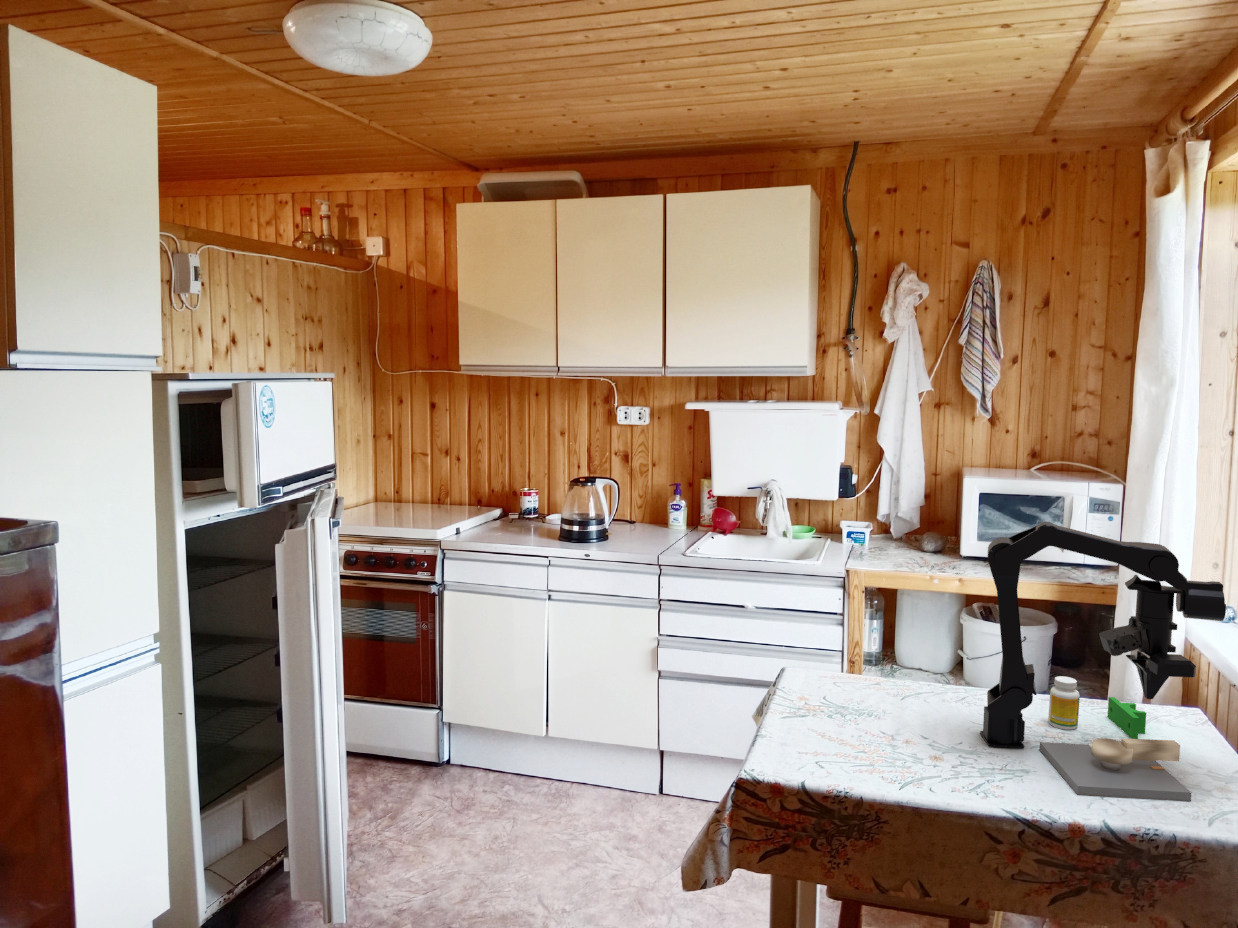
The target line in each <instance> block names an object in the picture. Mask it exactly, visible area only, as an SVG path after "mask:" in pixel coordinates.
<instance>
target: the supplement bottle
mask: <svg viewBox="0 0 1238 928" xmlns="http://www.w3.org/2000/svg"><path fill="white" fill-rule="evenodd" d="M1053 684H1054V686H1052V687H1051V689H1050V690H1049V703H1048V704H1049V705H1048V720H1047V721H1048V724H1050V725H1051V726H1052V727H1055V728H1057V729H1060V730H1066V731H1068V730H1075V729H1077V728H1078V725H1079V713H1080V712H1079V711H1080V710H1079V709H1080V696H1081V695H1080V692H1079V691H1078V690H1077V687H1078V681H1077V680H1076V679H1075V678H1073V677H1070V676H1061V675H1059V676H1055V677H1054V683H1053Z"/></svg>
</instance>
